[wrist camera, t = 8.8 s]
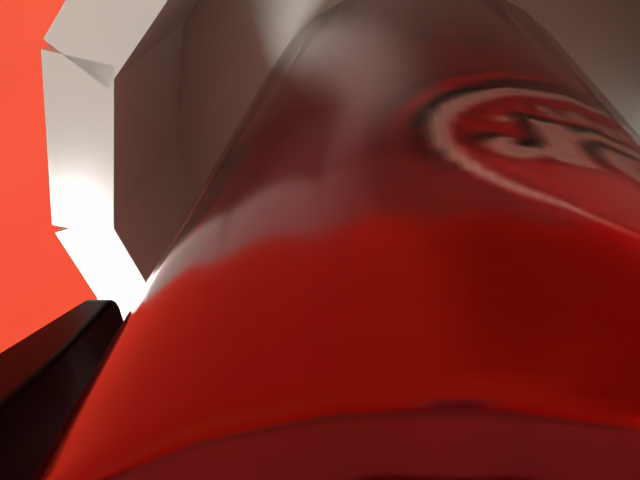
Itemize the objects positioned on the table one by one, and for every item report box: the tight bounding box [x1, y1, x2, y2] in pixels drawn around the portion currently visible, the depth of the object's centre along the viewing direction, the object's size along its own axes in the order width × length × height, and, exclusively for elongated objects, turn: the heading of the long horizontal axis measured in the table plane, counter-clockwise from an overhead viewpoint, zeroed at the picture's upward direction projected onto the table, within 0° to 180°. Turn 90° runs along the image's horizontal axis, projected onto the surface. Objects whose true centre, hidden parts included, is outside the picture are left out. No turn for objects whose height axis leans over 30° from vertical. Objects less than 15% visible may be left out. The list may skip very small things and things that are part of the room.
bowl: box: [41, 0, 640, 321], centre depth 13 cm, size 13×13×4 cm
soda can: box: [31, 0, 640, 480], centre depth 9 cm, size 7×7×12 cm
